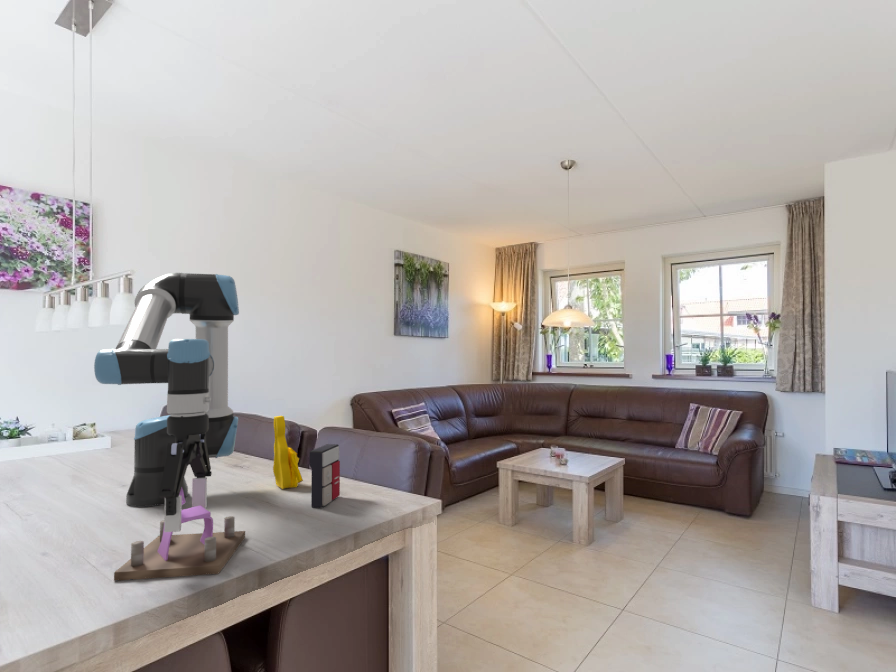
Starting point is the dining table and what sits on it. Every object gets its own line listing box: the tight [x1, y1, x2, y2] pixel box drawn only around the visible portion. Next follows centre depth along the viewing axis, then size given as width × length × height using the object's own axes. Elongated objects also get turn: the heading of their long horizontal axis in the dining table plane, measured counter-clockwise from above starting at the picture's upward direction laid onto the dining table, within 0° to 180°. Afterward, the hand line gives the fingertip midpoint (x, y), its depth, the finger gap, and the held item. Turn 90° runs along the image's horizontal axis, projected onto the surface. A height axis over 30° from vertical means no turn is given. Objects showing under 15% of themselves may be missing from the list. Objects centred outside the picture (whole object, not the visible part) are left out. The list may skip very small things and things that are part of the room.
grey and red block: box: [309, 443, 341, 509], centre depth 134 cm, size 11×4×15 cm, turn 168°
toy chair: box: [158, 487, 214, 561], centre depth 98 cm, size 8×9×15 cm
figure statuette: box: [272, 415, 304, 490], centre depth 150 cm, size 18×8×22 cm, turn 37°
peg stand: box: [113, 515, 246, 581], centre depth 98 cm, size 18×18×6 cm
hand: (186, 519), depth 98 cm, fingers open, 13 cm apart
